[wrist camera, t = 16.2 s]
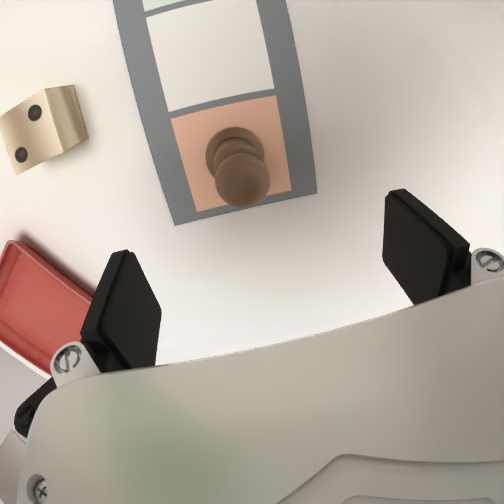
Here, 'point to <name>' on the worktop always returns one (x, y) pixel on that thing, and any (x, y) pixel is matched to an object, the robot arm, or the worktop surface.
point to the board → (216, 93)
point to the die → (42, 127)
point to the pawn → (238, 167)
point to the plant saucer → (38, 306)
